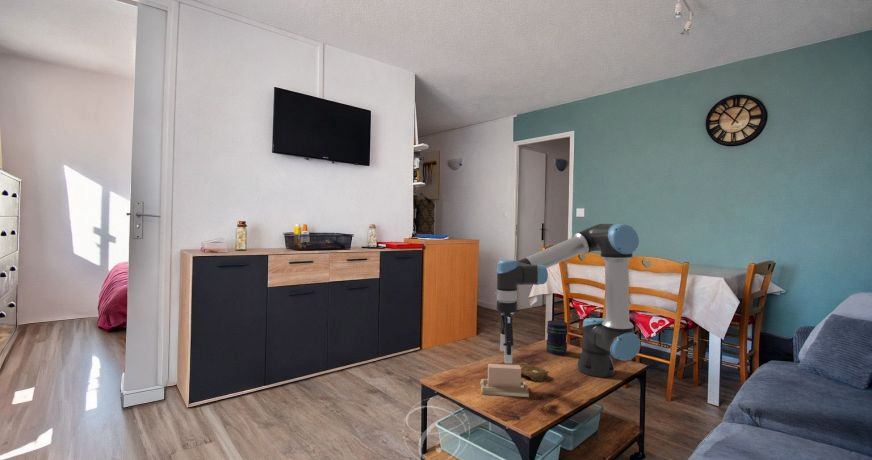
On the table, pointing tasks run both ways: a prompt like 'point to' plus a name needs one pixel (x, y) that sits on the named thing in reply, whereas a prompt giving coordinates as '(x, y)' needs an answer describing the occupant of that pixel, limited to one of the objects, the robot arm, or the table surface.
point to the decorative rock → (533, 372)
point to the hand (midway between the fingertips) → (506, 356)
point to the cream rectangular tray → (504, 390)
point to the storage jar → (556, 337)
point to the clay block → (504, 376)
